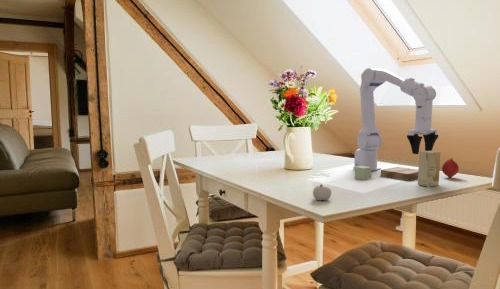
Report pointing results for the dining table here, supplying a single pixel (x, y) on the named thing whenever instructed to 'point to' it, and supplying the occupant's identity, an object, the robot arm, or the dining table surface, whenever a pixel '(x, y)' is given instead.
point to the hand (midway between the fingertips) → (421, 153)
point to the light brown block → (400, 173)
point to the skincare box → (429, 168)
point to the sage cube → (362, 172)
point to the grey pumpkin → (322, 192)
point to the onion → (450, 168)
